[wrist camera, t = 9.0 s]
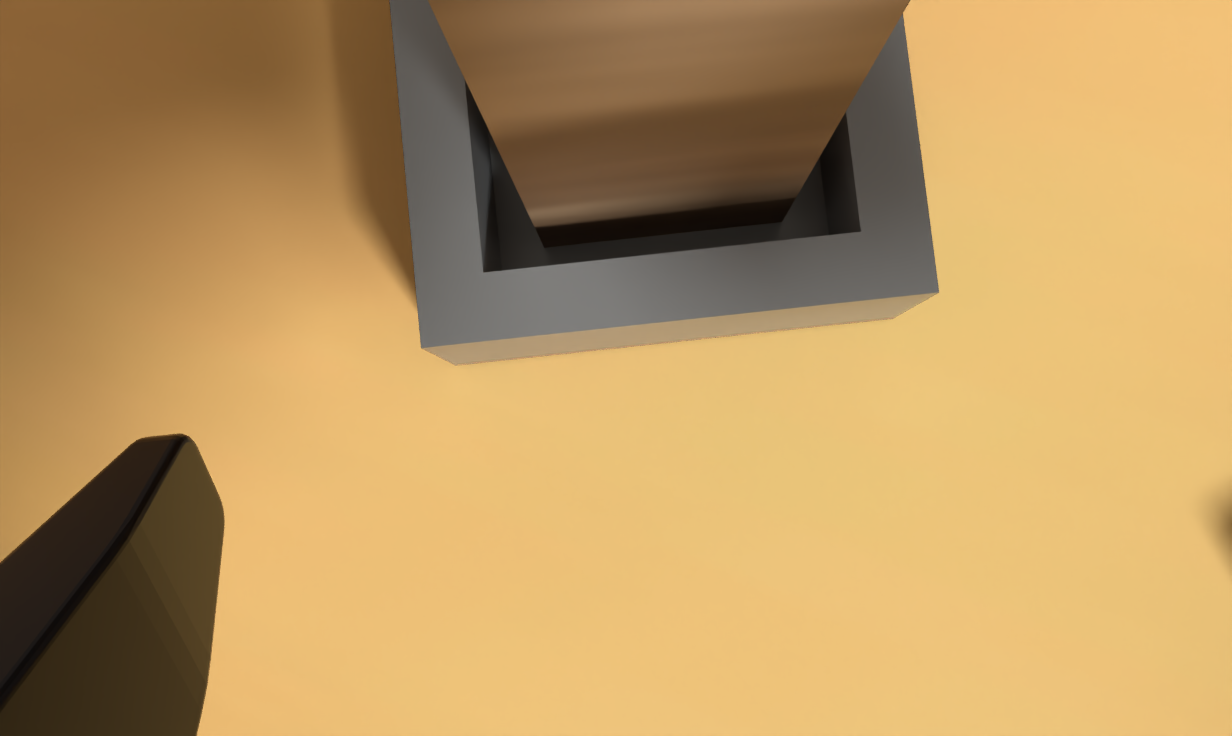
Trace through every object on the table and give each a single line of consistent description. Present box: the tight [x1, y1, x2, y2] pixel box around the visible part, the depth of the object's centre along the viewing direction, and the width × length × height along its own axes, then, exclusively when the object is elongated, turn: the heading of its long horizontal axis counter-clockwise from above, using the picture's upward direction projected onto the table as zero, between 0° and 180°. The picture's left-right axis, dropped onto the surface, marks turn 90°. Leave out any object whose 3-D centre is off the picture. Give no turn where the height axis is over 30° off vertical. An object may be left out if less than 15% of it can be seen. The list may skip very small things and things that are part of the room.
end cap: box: [389, 0, 939, 365], centre depth 18 cm, size 8×8×3 cm
